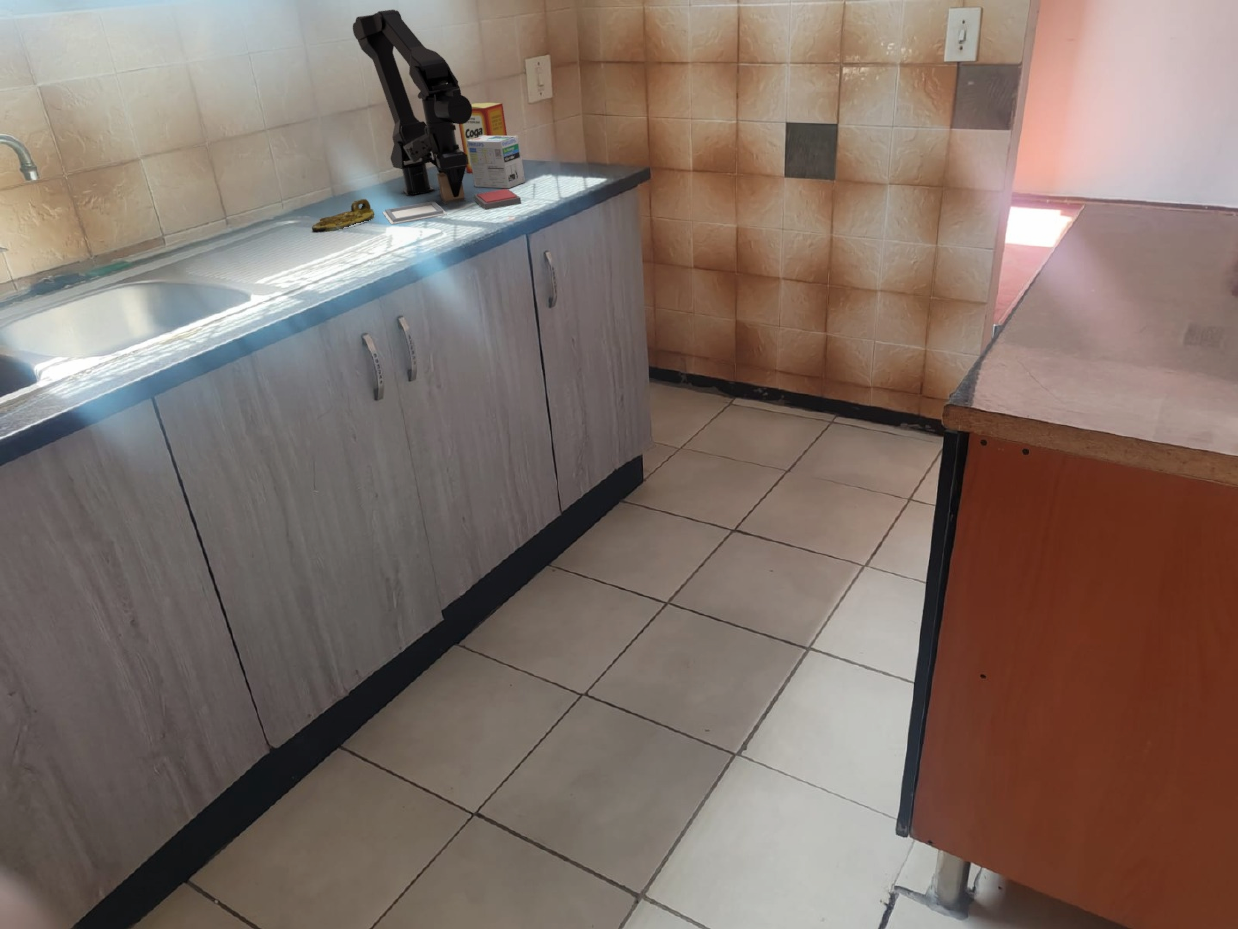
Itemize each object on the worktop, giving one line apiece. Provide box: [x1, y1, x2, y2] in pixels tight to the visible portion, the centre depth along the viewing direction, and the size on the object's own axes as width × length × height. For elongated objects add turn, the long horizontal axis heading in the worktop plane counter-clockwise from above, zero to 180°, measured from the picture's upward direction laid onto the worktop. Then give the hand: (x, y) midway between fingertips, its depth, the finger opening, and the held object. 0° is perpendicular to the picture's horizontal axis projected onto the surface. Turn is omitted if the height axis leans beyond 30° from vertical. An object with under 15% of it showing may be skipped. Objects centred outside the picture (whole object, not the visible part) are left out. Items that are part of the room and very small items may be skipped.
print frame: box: [382, 200, 448, 225], centre depth 202 cm, size 12×12×1 cm
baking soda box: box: [458, 102, 508, 174], centre depth 231 cm, size 10×6×16 cm
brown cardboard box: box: [436, 172, 466, 205], centre depth 208 cm, size 4×4×6 cm
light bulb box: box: [467, 135, 526, 189], centre depth 217 cm, size 11×7×11 cm, turn 58°
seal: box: [311, 198, 375, 233], centre depth 199 cm, size 9×5×15 cm
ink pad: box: [473, 188, 522, 210], centre depth 204 cm, size 10×8×2 cm
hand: (452, 193), depth 209 cm, fingers open, 8 cm apart
